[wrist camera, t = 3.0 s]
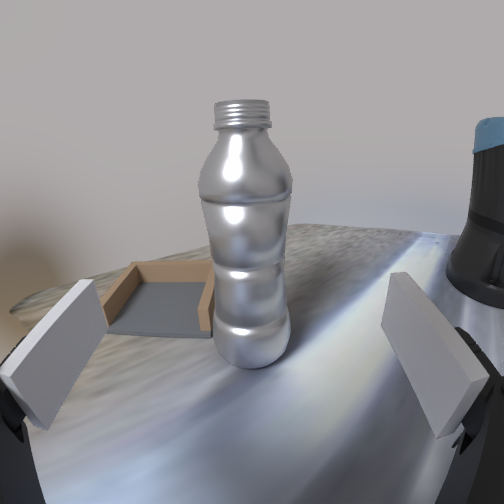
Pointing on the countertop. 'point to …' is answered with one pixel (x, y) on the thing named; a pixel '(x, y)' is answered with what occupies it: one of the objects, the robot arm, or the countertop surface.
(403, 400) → the countertop surface
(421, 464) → the countertop surface
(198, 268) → the tray
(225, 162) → the silver metal bottle
